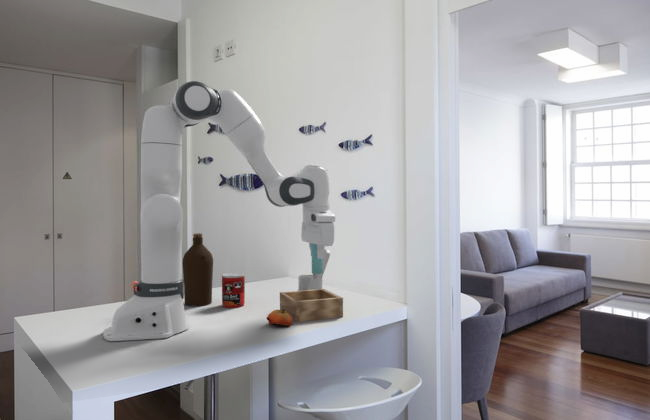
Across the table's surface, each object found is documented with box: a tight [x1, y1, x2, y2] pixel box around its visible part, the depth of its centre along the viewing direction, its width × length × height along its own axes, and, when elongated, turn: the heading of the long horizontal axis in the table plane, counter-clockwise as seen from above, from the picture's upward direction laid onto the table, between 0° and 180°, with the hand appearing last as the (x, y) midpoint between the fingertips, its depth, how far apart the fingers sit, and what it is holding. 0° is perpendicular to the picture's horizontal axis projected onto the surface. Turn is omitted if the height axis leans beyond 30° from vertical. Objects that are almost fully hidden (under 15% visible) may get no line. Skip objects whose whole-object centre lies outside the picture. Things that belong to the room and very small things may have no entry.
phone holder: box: [297, 248, 331, 291], centre depth 183 cm, size 17×10×18 cm, turn 14°
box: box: [279, 288, 344, 323], centre depth 153 cm, size 16×16×6 cm
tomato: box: [266, 308, 293, 327], centre depth 139 cm, size 8×7×7 cm
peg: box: [310, 243, 323, 274], centre depth 153 cm, size 4×4×12 cm
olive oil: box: [182, 232, 214, 307], centre depth 167 cm, size 11×11×25 cm
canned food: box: [221, 272, 246, 309], centre depth 164 cm, size 8×8×11 cm
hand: (316, 257), depth 153 cm, fingers closed on peg, 4 cm apart
